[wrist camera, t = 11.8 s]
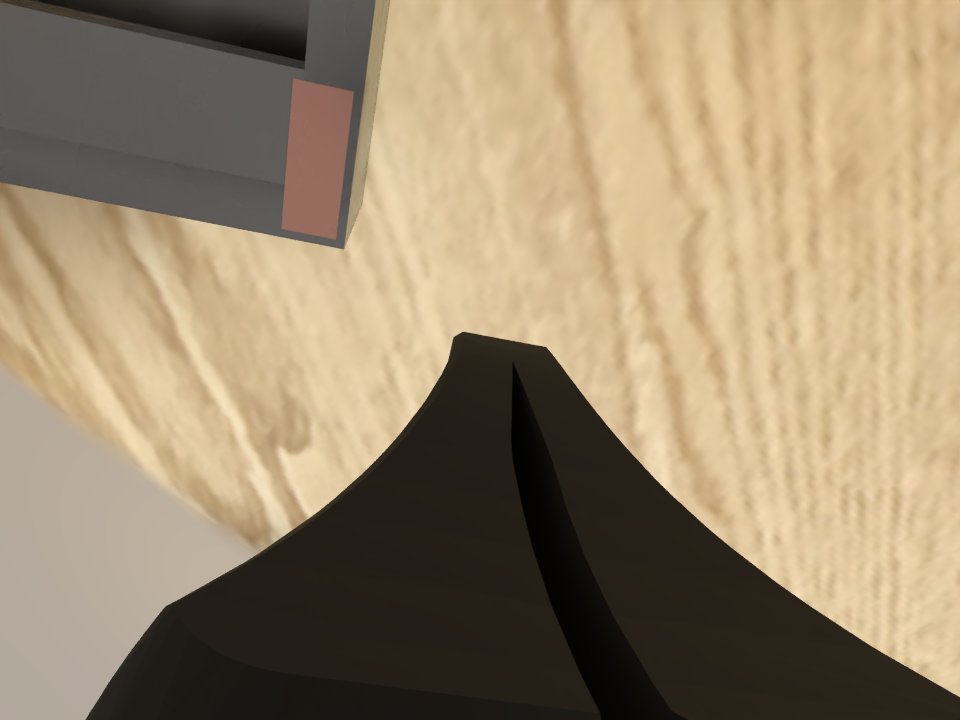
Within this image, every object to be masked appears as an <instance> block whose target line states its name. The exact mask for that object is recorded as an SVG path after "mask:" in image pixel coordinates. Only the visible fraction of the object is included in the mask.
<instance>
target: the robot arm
mask: <svg viewBox="0 0 960 720" xmlns="http://www.w3.org/2000/svg"><path fill="white" fill-rule="evenodd" d="M86 720H960V697H958V696H957V695H955V694H953V693H951V692H950V691H948V690H946V689H944V688H943V687H941V686H939V685H937V684H936V683H934V682H932V681H930V680H929V679H927V678H925V677H923V676H922V675H920V674H918V673H916V672H915V671H913V670H911V669H909V668H908V667H906V666H904V665H902V664H901V663H899V662H897V661H896V660H894V659H892V658H890V657H889V656H887V655H885V654H883V653H882V652H880V651H878V650H877V649H875V648H873V647H872V646H870V645H869V644H867V643H865V642H864V641H862V640H861V639H859V638H858V637H856V636H855V635H853V634H852V633H850V632H848V631H847V630H845V629H844V628H842V627H841V626H839V625H838V624H836V623H835V622H833V621H832V620H830V619H829V618H827V617H826V616H824V615H822V614H821V613H819V612H818V611H816V610H815V609H813V608H812V607H810V606H809V605H808V604H806V603H805V602H803V601H802V600H800V599H799V598H798V597H796V596H795V595H793V594H792V593H791V592H789V591H788V590H786V589H785V588H783V587H782V586H781V585H779V584H778V583H776V582H775V581H774V580H772V579H771V578H770V577H769V576H767V575H766V574H765V573H763V572H762V571H761V570H759V569H758V568H757V567H756V566H754V565H753V564H752V563H750V562H749V561H748V560H746V559H745V558H744V557H743V556H741V555H740V554H739V553H737V552H736V551H735V550H734V549H732V548H731V547H730V546H729V545H727V544H726V543H725V542H724V541H722V540H721V539H720V538H719V537H718V536H716V535H715V534H714V533H713V532H712V531H710V530H709V529H708V528H707V527H706V526H705V525H704V524H703V523H701V522H700V521H699V520H698V519H697V518H696V517H695V516H694V515H693V514H692V513H690V512H689V511H688V510H687V509H686V508H685V507H684V506H683V505H682V504H681V503H680V502H678V501H677V500H676V499H675V498H674V497H673V496H672V495H671V494H670V493H669V492H668V491H667V490H666V489H665V488H664V487H663V486H662V485H661V484H660V483H659V482H658V481H657V480H656V479H655V478H654V477H653V476H652V475H651V474H650V473H649V472H648V471H647V470H646V469H645V468H644V467H643V465H642V464H641V463H640V462H639V461H638V460H637V459H636V458H635V457H634V456H633V455H632V454H631V453H630V451H629V450H628V449H627V448H626V447H625V446H624V445H623V444H622V442H621V441H620V440H619V439H618V438H617V437H616V435H615V434H614V433H613V432H612V431H611V430H610V428H609V427H608V426H607V425H606V424H605V422H604V421H603V420H602V419H601V417H600V416H599V415H598V414H597V412H596V411H595V410H594V409H593V407H592V406H591V405H590V404H589V402H588V401H587V400H586V398H585V397H584V396H583V394H582V393H581V392H580V391H579V389H578V388H577V387H576V385H575V384H574V383H573V381H572V380H571V379H570V377H569V376H568V375H567V373H566V372H565V371H564V369H563V368H562V367H561V365H560V364H559V363H558V361H557V360H556V359H555V357H554V356H553V355H552V353H551V352H550V351H549V350H548V349H547V347H542V346H537V345H532V344H526V343H521V342H515V341H510V340H505V339H499V338H494V337H489V336H483V335H478V334H472V333H467V332H462V333H460V334H458V335H457V336H455V337H454V338H453V342H452V347H451V351H450V356H449V360H448V363H447V365H446V367H445V369H444V371H443V373H442V375H441V376H440V378H439V380H438V381H437V383H436V385H435V386H434V388H433V389H432V391H431V393H430V394H429V396H428V398H427V399H426V401H425V402H424V403H423V405H422V406H421V408H420V409H419V410H418V411H417V413H416V414H415V415H414V417H413V418H412V419H411V421H410V422H409V423H408V424H407V426H406V427H405V428H404V430H403V431H402V432H401V433H400V435H399V436H398V437H397V438H396V439H395V440H394V442H393V443H392V444H391V445H390V446H389V447H388V448H387V449H386V450H385V452H384V453H383V454H382V455H381V456H380V457H379V458H378V459H377V460H376V461H375V462H374V463H373V464H372V465H371V466H370V467H369V468H368V469H367V470H366V471H365V472H364V473H363V474H362V475H361V476H359V477H358V478H357V479H356V480H355V481H354V482H353V483H352V484H350V485H349V486H348V487H347V488H346V489H345V490H344V491H343V492H341V493H340V494H339V495H338V496H337V497H336V498H335V499H333V500H332V501H331V502H330V503H329V504H327V505H326V506H325V507H324V508H322V509H321V510H320V511H319V512H317V513H316V514H315V515H313V516H312V517H311V518H309V519H308V520H306V521H305V522H303V523H302V524H301V525H299V526H298V527H296V528H295V529H293V530H292V531H291V532H289V533H288V534H286V535H285V536H283V537H282V538H281V539H279V540H278V541H276V542H275V543H273V544H272V545H271V546H269V547H268V548H266V549H265V550H263V551H262V552H260V553H259V554H257V555H256V556H254V557H253V558H251V559H249V560H248V561H246V562H245V563H243V564H241V565H239V566H238V567H236V568H234V569H232V570H230V571H229V572H227V573H225V574H223V575H222V576H220V577H218V578H216V579H214V580H213V581H211V582H209V583H207V584H206V585H204V586H202V587H200V588H199V589H197V590H195V591H193V592H192V593H190V594H188V595H186V596H184V597H183V598H181V599H179V600H177V601H175V602H173V603H171V604H169V605H167V606H166V607H165V608H164V609H163V610H162V612H161V613H160V614H159V615H158V617H157V618H156V619H155V620H154V622H153V623H152V624H151V625H150V627H149V628H148V629H147V631H146V632H145V633H144V634H143V636H142V637H141V638H140V640H139V641H138V642H137V644H136V645H135V646H134V648H133V649H132V650H131V652H130V653H129V654H128V656H127V657H126V659H125V660H124V662H123V663H122V665H121V666H120V667H119V669H118V670H117V672H116V673H115V674H114V676H113V677H112V679H111V680H110V682H109V683H108V685H107V687H106V688H105V690H104V691H103V693H102V695H101V696H100V698H99V699H98V701H97V703H96V704H95V706H94V707H93V709H92V710H91V712H90V713H89V715H88V717H87V718H86Z"/></svg>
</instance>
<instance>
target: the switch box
mask: <svg viewBox="0 0 960 720" xmlns="http://www.w3.org/2000/svg"><path fill="white" fill-rule="evenodd" d="M389 3H390V0H0V182H3V183H8V184H13V185H18V186H23V187H28V188H34V189H39V190H44V191H49V192H54V193H59V194H64V195H69V196H74V197H80V198H85V199H90V200H95V201H100V202H105V203H110V204H115V205H120V206H126V207H131V208H136V209H141V210H146V211H151V212H156V213H161V214H166V215H172V216H177V217H182V218H187V219H192V220H197V221H202V222H207V223H212V224H218V225H223V226H228V227H233V228H238V229H243V230H248V231H253V232H258V233H264V234H269V235H274V236H279V237H284V238H289V239H294V240H299V241H304V242H310V243H315V244H320V245H325V246H330V247H335V248H340V249H344V248H345V246H346V243H347V241H348V238H349V236H350V233H351V231H352V228H353V226H354V223H355V220H356V218H357V215H358V213H359V210H360V208H361V205H362V201H363V193H364V186H365V179H366V171H367V164H368V157H369V149H370V142H371V135H372V127H373V120H374V113H375V105H376V98H377V91H378V83H379V76H380V69H381V61H382V54H383V47H384V39H385V32H386V25H387V17H388V10H389Z"/></svg>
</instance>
